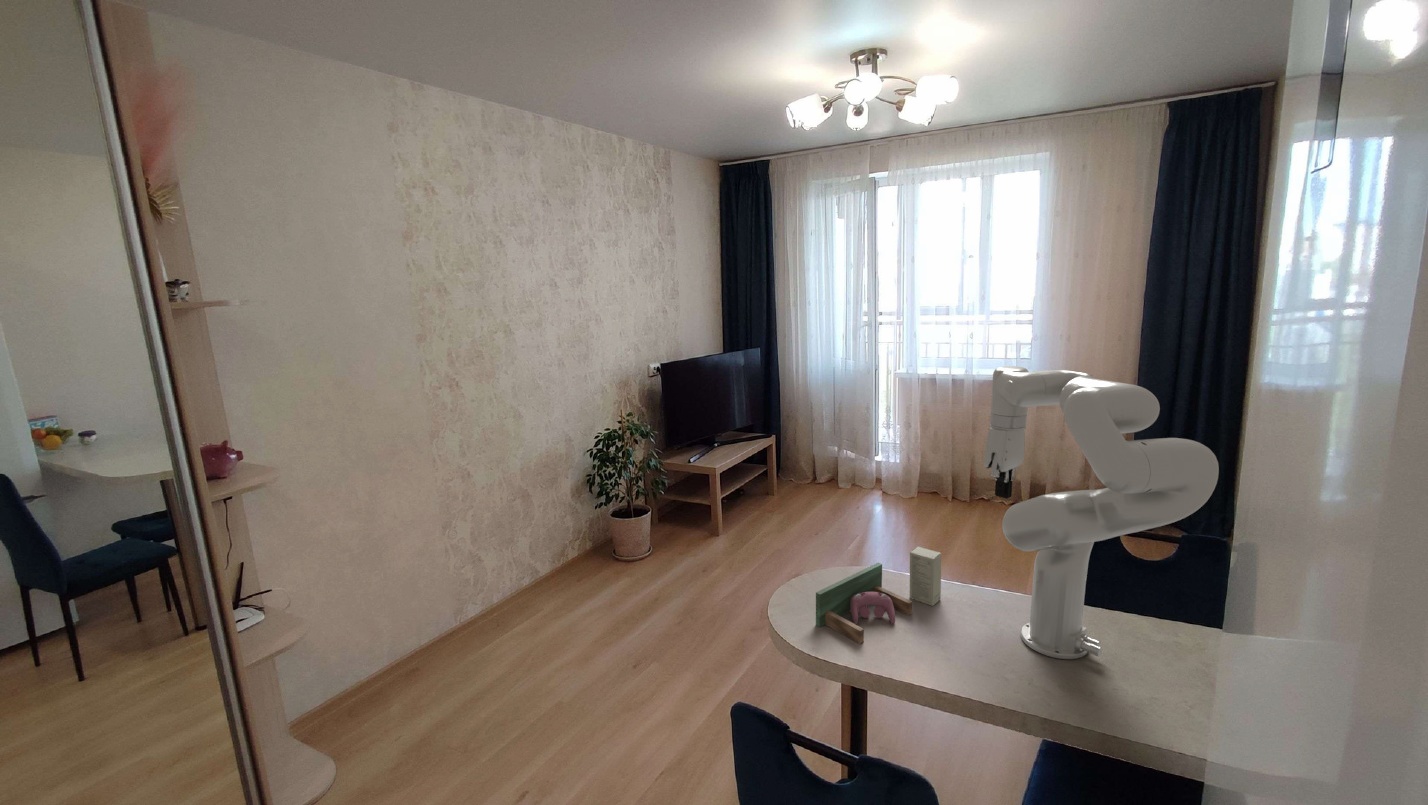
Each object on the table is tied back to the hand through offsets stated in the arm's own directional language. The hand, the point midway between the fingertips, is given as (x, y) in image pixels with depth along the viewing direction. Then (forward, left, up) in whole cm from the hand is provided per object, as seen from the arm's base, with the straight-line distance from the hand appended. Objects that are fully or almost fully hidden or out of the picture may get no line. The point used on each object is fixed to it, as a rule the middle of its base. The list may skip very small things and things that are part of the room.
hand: (1003, 496), depth 147 cm
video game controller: (+13, +31, -25) cm, 42 cm away
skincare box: (+10, +15, -25) cm, 31 cm away
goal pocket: (+13, +32, -25) cm, 43 cm away
